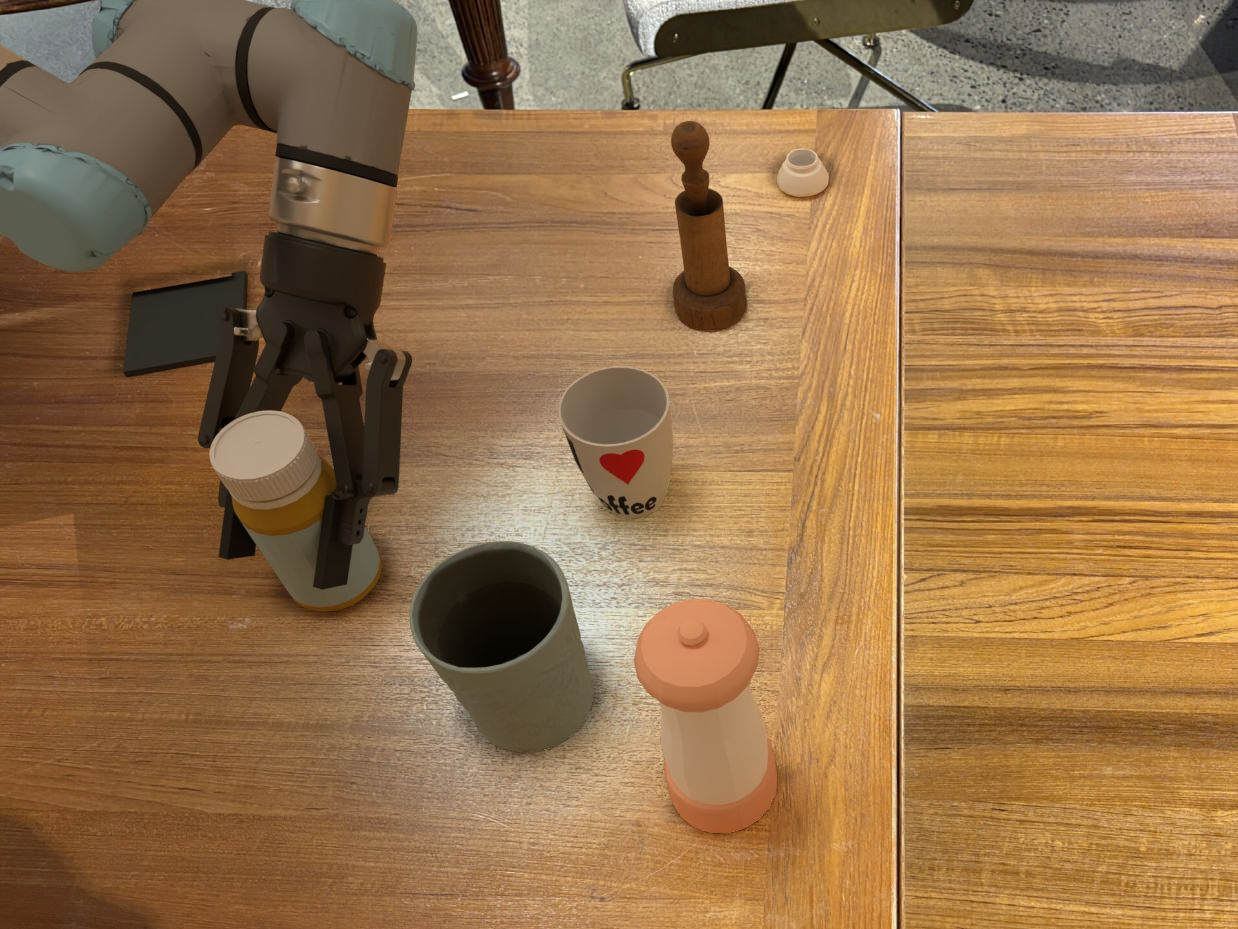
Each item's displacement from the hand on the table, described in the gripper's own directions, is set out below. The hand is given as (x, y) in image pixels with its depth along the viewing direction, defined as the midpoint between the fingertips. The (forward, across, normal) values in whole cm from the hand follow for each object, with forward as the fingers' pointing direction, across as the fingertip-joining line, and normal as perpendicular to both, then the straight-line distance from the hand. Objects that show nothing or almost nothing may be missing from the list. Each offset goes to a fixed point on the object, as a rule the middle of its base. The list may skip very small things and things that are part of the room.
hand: (283, 570), depth 84 cm
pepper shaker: (+6, +34, +2) cm, 35 cm away
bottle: (+2, 0, +6) cm, 7 cm away
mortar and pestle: (-25, +15, +33) cm, 44 cm away
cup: (-9, +18, +18) cm, 26 cm away
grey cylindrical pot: (+5, +19, +4) cm, 20 cm away
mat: (-12, -29, +21) cm, 38 cm away
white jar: (-38, +16, +47) cm, 63 cm away
